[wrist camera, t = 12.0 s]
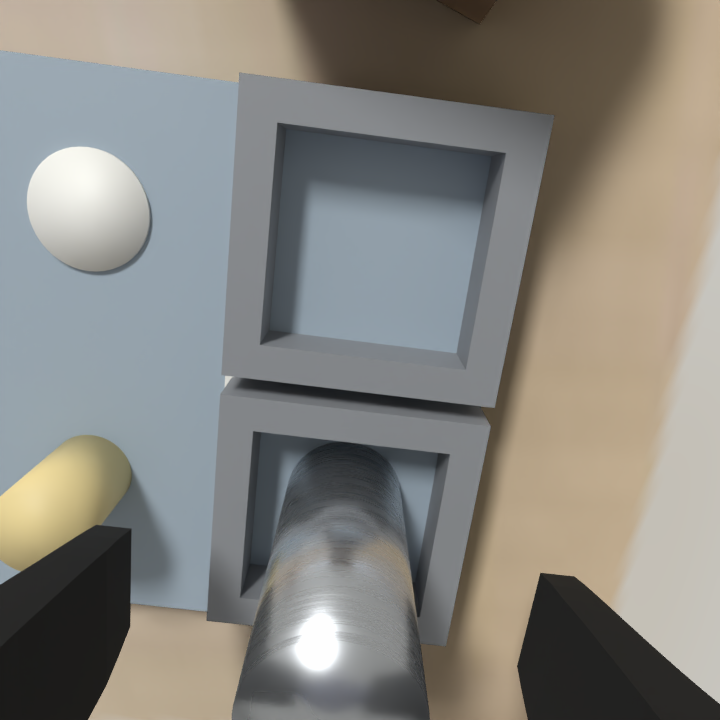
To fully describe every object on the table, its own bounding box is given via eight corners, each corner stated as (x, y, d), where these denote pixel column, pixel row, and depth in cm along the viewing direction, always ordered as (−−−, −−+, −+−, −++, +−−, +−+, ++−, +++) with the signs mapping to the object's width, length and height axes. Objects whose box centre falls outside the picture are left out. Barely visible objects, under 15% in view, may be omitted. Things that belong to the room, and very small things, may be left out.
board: (13, 562, 15) (-87, 669, 12) (-14, 56, 12) (-163, 3, 8) (431, 608, 15) (450, 724, 12) (523, 128, 12) (584, 105, 9)
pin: (290, 436, 13) (235, 634, 7) (406, 446, 13) (442, 651, 7) (284, 537, 14) (228, 789, 8) (393, 546, 14) (417, 805, 8)
